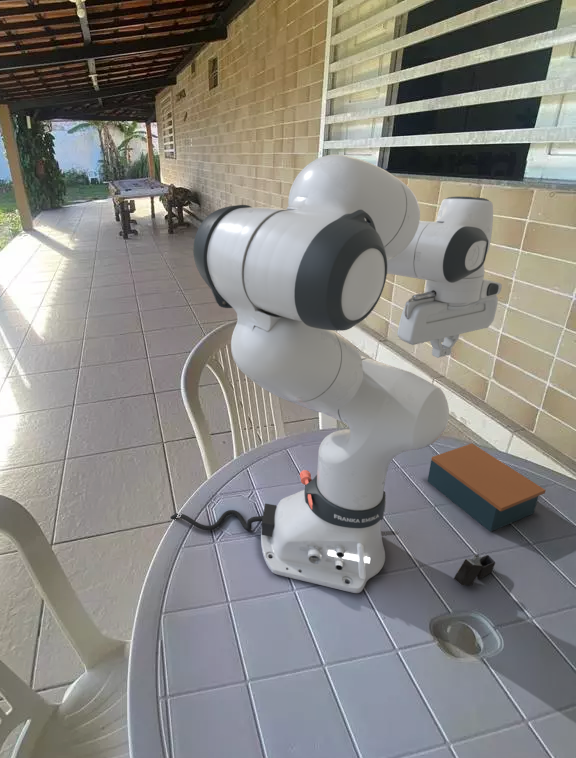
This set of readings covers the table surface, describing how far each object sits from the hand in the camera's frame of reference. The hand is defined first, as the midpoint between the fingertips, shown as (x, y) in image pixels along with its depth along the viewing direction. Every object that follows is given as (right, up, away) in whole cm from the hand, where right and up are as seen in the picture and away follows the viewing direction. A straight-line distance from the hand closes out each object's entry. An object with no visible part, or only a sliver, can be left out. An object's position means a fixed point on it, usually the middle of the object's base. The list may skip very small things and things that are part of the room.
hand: (440, 355), depth 82 cm
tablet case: (+11, -30, +6) cm, 33 cm away
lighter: (-1, -37, -10) cm, 39 cm away
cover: (+11, -25, +4) cm, 28 cm away
